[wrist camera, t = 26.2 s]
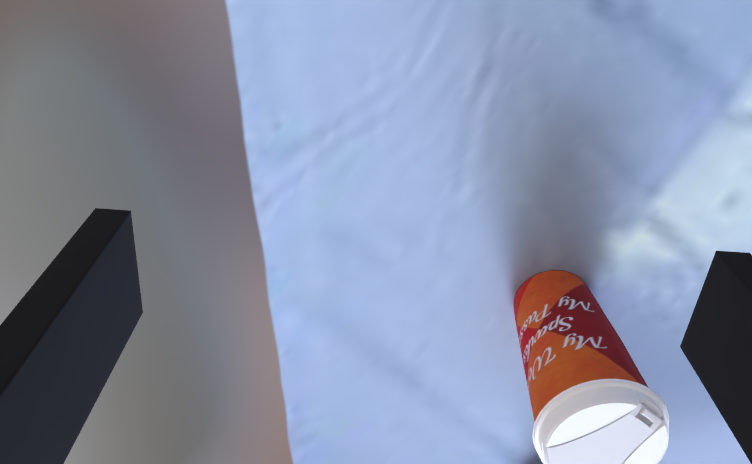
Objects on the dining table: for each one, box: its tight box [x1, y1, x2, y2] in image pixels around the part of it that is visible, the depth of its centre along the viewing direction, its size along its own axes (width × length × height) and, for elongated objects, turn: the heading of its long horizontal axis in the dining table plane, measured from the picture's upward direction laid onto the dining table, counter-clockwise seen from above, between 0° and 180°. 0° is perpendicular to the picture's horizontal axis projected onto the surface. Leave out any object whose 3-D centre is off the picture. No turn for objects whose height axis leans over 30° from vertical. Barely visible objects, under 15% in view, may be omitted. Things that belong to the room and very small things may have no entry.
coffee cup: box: [514, 270, 669, 464], centre depth 46 cm, size 8×8×15 cm
